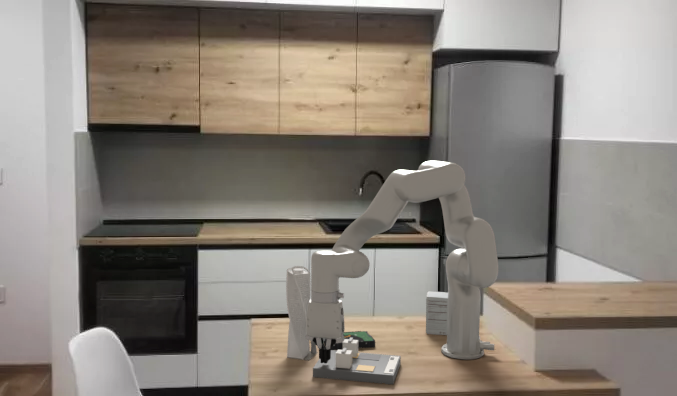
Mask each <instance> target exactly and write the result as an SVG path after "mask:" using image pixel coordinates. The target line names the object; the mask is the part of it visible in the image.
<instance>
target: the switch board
mask: <svg viewBox="0 0 677 396" xmlns="http://www.w3.org/2000/svg"><path fill="white" fill-rule="evenodd" d="M336 352H337V350H331V358H330V360H328V362H327V363H321V359H319V358H318V360H317V361H316V362H315V364H314V366H313V367H312V378H320V379H321V378H322V379H332V380H341V381H342V380H343V381H350V382H351V381H352V382H361V383H362V382H363V383H372V384H373V382H374V384H382V383H385V385H394V383H395V381H396V378H397V376H398V372H399V369H400V366H401V363H402V362H401V359H402V357H401V355H395V354H393V355H391V354H383V353H381V354H379V353H372V352H371V353H370V352H369V353H368V352H359V351H358V355H357V357H352V366H351V368H350V369H348V368H337V367H336Z"/></svg>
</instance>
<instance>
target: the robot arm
mask: <svg viewBox="0 0 677 396" xmlns="http://www.w3.org/2000/svg"><path fill="white" fill-rule="evenodd" d="M465 183H466V173H465V170H464V169H463V167H462V166H460V165H459V164H457V163H455V162H450V161H449V162H448V161H441V160H427V161H424V162H422V163H421V164H420V165H419V166H418V169H417V170H409V169H397V170H394V171H392V172H391V173H390V174H389V175H388V176H387V178H386V179H385V181H384V183H383V184H382V185H381V187H380V188H379V190H378V192H377V193H376V195H375V197H374V198H373V199H372V201H371V202H370V204H369V205H368V207H367V209H366V210H365V211H364V212H363V213H362V214H360V215H359V216H358V217H357V218H356V219H355V220H354V221H352V222H351V223H350V224H349V225H348V226H346V228H345V229H344V231H343V232H342V233H341V234H340V235H339V237H338V239H337V241H336V242H335V244H334V245H333V247H332V249H331V250H330V249H329V250H327V249H324V250H323V249H322V250H317V251H314V252H313V253H312V254H311V257H310V258H311V259H310V260H311V261H310V262H311V263H310V265H311V267H310V268H311V269H310V271H311V272H310V281H311V290H310V300H309V303H308V309H307V317H306V339H307V340H309V342H311V341H313V342H314V343H315V344H316V348H317V349H318V360H319V359H321V363H327V362H328V360H330V358H331V347H332V346H333V345H334V344H335V343H341V342H343V341H344V335H343V333H344V332H345V330H346V329H345V314H344V305H343V302H342V300H341V299H344V298H345V293H343V292H341V291H340V278H346V279H359V278H361V277H363V276H365V275H366V274H367V273H368V271H369V269H370V259H369V258H368V256H367V255H366V254H365V253H364V252H362V251H360V250H361V248H363V246H364V244H366V243H367V242H368V241H369V240H370V239H371V238H373V237H374V236H377V235H379V234H382V233H384V232H386V231H388V230H390V229H392V227H394V225H395V223H396V221H397V220H398V218H399V217H400V215H401V213H403V210H404V209H405V207H406V206H407V205H408V203H414V204H415V203H416V204H417V203H423V202H427V201H431V200H436V199H439V202H440V205H441V210H442V216H443V217H442V218H443V224H444V231H445V237H446V239H447V240H448V242H449V243H450V244H451V245H454V246H456V247H459V248H457V249H453V250H452V251H451V252H450V253H449V254H448V256H447V258H446V261H445V275H446V280H447V293H448V316H447V335H446V343H444V344H443V345H442V346H441V353H442V354H443V355H444V356H446V357H449V358H452V359H457V360H476V359H479V358H482V357H483V356H484V354H485V350H486V351H487V350H488V351H495V343H491V341H483V340H481V336H480V323H481V321H480V320H481V316H480V315H481V290H480V289H486V288H490V287H491V286H493V284H495V282H496V281H497V279H498V275H499V259H498V252H497V246H496V245H497V244H496V237H495V233H494V230H493V228H492V226H491V225H490V223H489V222H487V220H485V219H483V218H481V217H476V216H475V215H474V213H473V212H474V211H473V208H472V207H473V206H472V202H471V198H470V193H469V191H468V189H467V187H466V185H465ZM323 338H327V342H326V345H325V343H324V340H323Z"/></svg>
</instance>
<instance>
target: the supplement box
mask: <svg viewBox="0 0 677 396" xmlns="http://www.w3.org/2000/svg"><path fill="white" fill-rule="evenodd" d="M425 300H426V303H425V304H426V305H425V306H426V307H425V310H426V311H425V334H426V333H427V335H439V336H447V316H448V291H447V292H444V291H429V290H428V291H427V293H426V299H425Z"/></svg>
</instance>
